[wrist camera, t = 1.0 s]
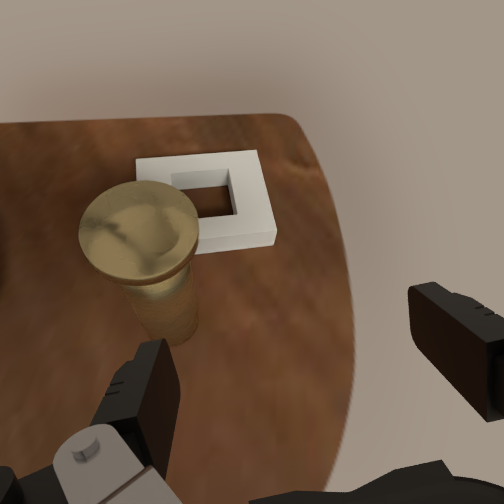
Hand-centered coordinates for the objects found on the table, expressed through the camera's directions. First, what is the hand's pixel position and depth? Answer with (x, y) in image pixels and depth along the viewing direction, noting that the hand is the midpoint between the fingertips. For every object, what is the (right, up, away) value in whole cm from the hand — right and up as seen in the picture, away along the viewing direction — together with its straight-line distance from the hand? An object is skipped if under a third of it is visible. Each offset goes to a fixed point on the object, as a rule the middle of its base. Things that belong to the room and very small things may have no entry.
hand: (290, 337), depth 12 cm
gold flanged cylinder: (-8, -3, +18) cm, 20 cm away
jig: (-6, +7, +24) cm, 26 cm away
